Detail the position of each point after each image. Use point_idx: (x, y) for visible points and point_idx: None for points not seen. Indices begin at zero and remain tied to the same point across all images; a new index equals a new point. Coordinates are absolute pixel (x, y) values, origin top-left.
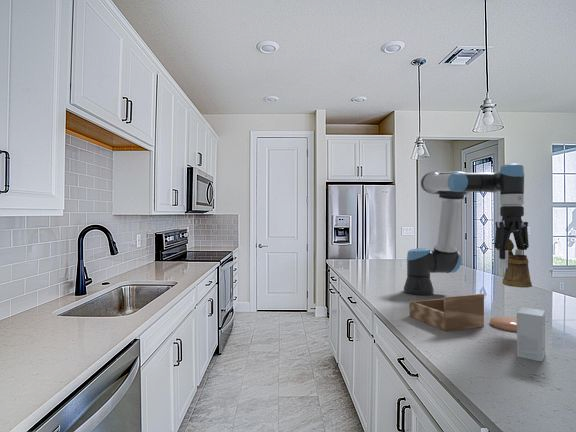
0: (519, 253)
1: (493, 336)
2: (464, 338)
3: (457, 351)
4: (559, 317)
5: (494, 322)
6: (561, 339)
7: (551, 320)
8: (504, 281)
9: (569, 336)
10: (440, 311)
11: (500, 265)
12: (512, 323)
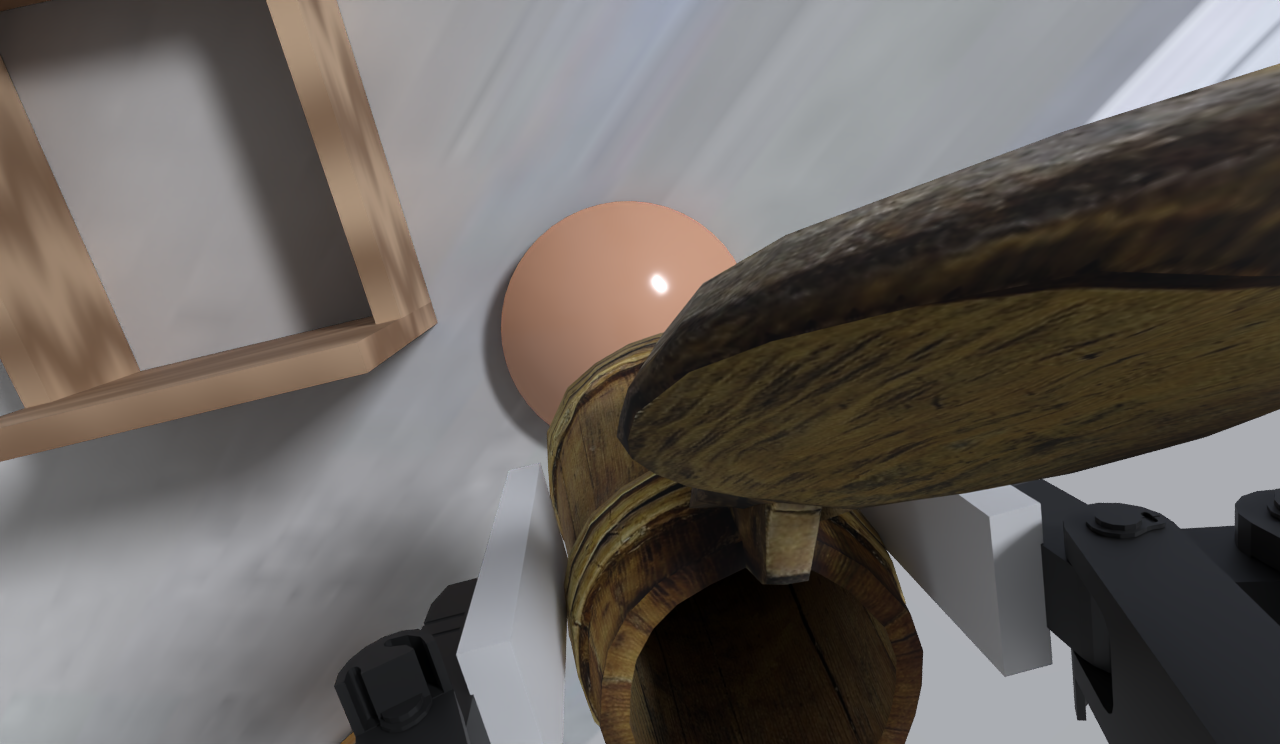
0: (946, 573)
1: (386, 500)
2: (193, 522)
3: (67, 690)
4: None
5: (505, 334)
6: None
7: None
8: (548, 454)
9: None
10: (18, 348)
11: (507, 489)
12: None
